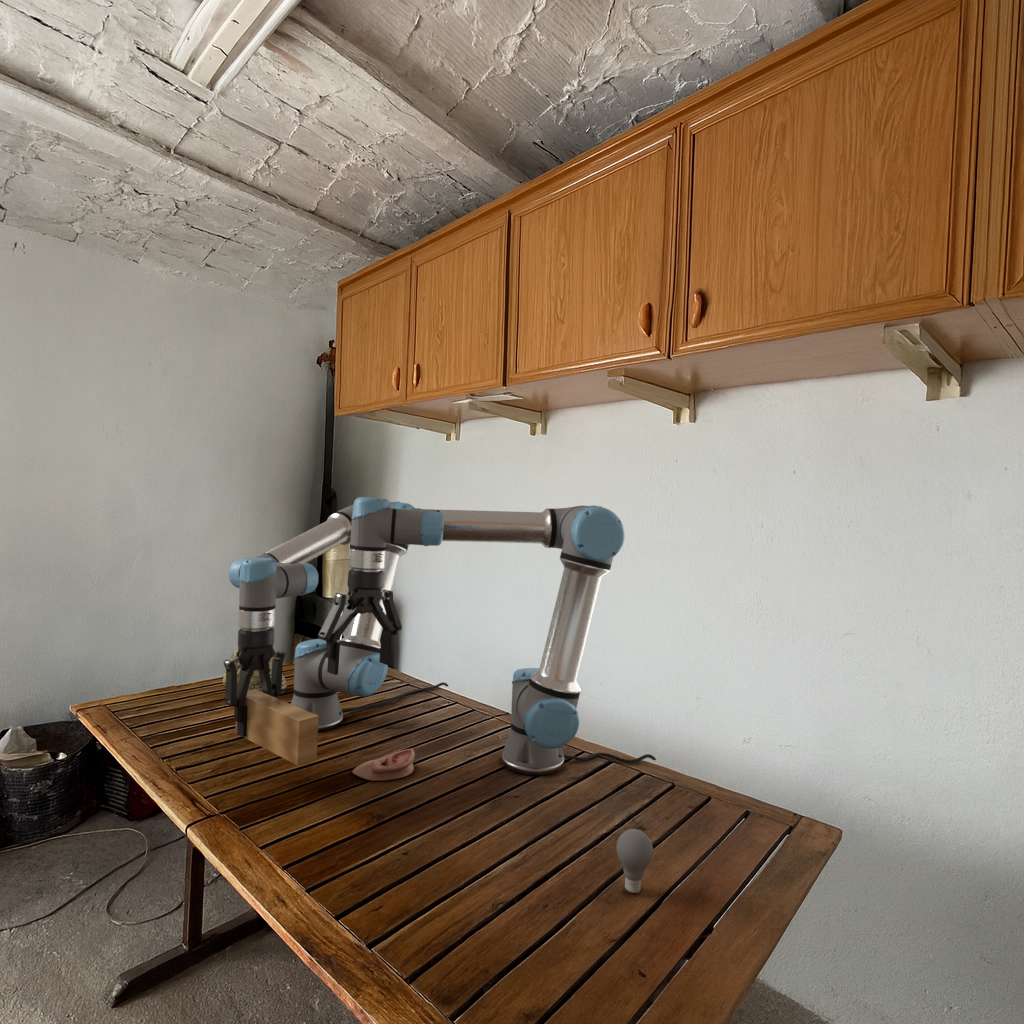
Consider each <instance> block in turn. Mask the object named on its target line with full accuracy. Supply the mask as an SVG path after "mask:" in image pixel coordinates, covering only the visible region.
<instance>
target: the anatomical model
mask: <svg viewBox="0 0 1024 1024" xmlns="http://www.w3.org/2000/svg"><path fill="white" fill-rule="evenodd" d="M415 755H416V753H415V750H414V749H413V748H405V749H401V750H398V751H396V752H392V753H390V754H387V755H384V756H381V757H378V758H376V759H371V760H368V761H365V762H362V763H361V764H359V765H358V766H356V767H355V768H353V770H352V774H353V775H354V776H357V777H359V778H361V779H364V780H367V781H372V782H373V781H388V780H390V781H391V780H397V779H400V778H404V777H407V776H409V775H410V774H412V773H413V771H414V763H413V762H414V760H415Z"/></svg>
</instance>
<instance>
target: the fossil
mask: <svg viewBox="0 0 1024 1024" xmlns="http://www.w3.org/2000/svg"><path fill="white" fill-rule="evenodd" d="M237 652H238V647H237V648H236V649H235V650H233V651H232V653H231V656H230V657H229V659H228V660H231V659H233V658H234V657H236V654H237ZM272 661H273V659H272V658H271V660H270V661H269V667H270V671H269V673H270V678H271V677H272ZM236 669H237V686H238V682H239V678H240V669H241V664H240V663H239V662H238V668H236ZM247 671H248V670H247ZM222 676H223V677H222V685H223V687H224V688H225V689H226V669H225V668H224V671H223V675H222ZM287 687H288V686H287V680H286V678H285V676H284V674H282V689H281V694H284V693H285V691H286V689H287ZM254 689H256V690H258V691H261V692H263V691H262V686H261V681H260V676H259V671H258V670H255V671H254V673H253V676H251V679H250V684H249V688H248V691H249V690H254Z"/></svg>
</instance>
